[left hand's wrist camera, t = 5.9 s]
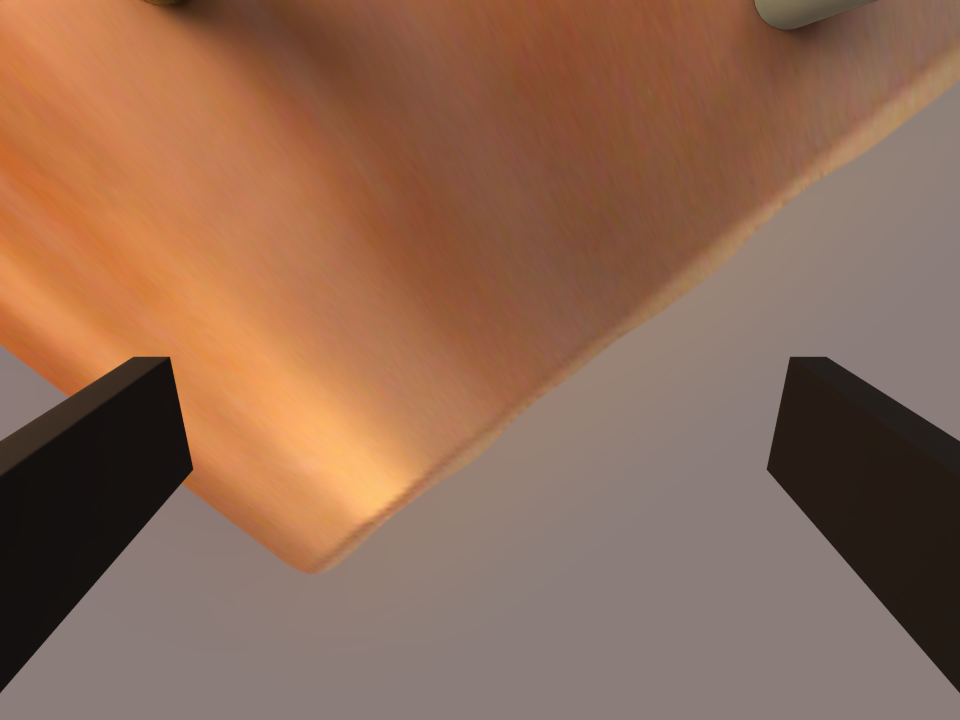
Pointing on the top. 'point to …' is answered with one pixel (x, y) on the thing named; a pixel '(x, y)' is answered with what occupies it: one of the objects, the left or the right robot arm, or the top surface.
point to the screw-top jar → (802, 11)
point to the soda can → (161, 2)
